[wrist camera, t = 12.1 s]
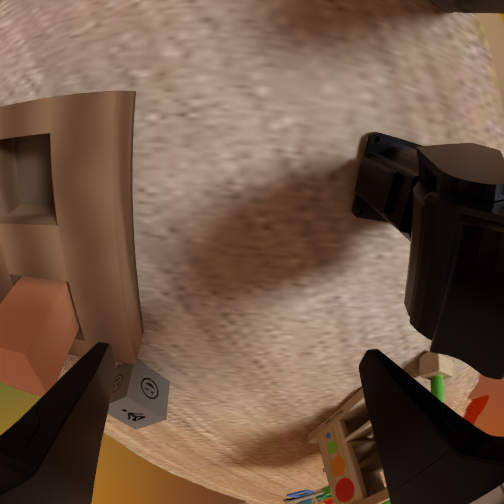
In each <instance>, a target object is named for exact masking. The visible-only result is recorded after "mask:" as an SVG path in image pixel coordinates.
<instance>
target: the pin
mask: <svg viewBox="0 0 504 504" xmlns="http://www.w3.org/2000/svg"><path fill="white" fill-rule="evenodd" d="M79 327H80V323H79V320H78V316H77V313H76V309H75V305H74V302H73V298H72V294H71V290H70V286H69V282H67V281H58V280H50V279H42V278H35V277H27V276H22V277H21V278H20V279H19V280H18V282H17V283H16V284H15V285H14V287H13V288H12V289H11V290H10V292H9V293H8V294H7V296H6V297H5V298H4V300H3V301H2V302H1V304H0V380H1V382H2V383H3V384H5V385H9V386H11V387H14V388H17V389H20V390H23V391H26V392H29V393H32V394H35V395H39V396H43V395H44V394H45V393H46V392H47V391H48V390H49V389H50V388H51V387H52V386H53V385H54V384H55V383H56V382H57V379H58V377H59V374H60V372H61V369H62V367H63V364H64V362H65V359H66V357H67V355H68V352H69V350H70V348H71V345H72V343H73V341H74V339H75V336H76V334H77V332H78V330H79Z"/></svg>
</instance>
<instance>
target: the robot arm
mask: <svg viewBox="0 0 504 504" xmlns="http://www.w3.org/2000/svg"><path fill="white" fill-rule="evenodd" d="M375 136H377V141H376V142H375V141H374V137H375ZM355 192H356V195H355V199H354V203H353V207H352V213H353V214H354V215H355V216H356V217H357V218H363V219H371V220H378V221H386V222H390V223H391V224H392V225H393V226H394V227H395V228H396V229H397V230H399V231H400V232H401V233H402V234H403V235H404V236H405V237H406V238H407V239H408V240H409V241H410V242H411V244H410V255H409V265H408V274H407V282H406V290H405V302H404V304H405V306H406V309H407V312H408V315H409V316H410V324H411V325H412V326H413V327H414V328H415V329H416V330H417V331H418V332H419V333H421V334H422V335H424V336H425V337H426V338H428V339H430V340H432V343H431V346H430V352H432V353H437V354H444V355H449V356H451V357H454V358H457V359H459V360H462V361H463V362H465V363H467V364H468V365H470V366H471V367H472V368H474V369H475V370H477V371H478V372H479V373H481V374H482V375H484V376H485V377H489V378H494V379H502V378H503V377H504V158H503V156H502V154H501V151H499V150H496V149H493V148H489V147H486V146H482V145H478V144H474V143H460V144H444V145H431V146H421V145H418V144H415V143H412V142H409V141H406V140H403V139H399V138H396V137H392V136H389V135H385V134H382V133H378V132H372V133H370V134H369V137H368V142H367V146H366V151H365V156H364V157H363V158H362V160H361V165H360V169H359V174H358V178H357V182H356V187H355ZM360 208H361V211H360V212H359V213H357V210H358V209H360ZM114 366H115V359H114V355H113V352H112V348H111V345H110V344H109V343H106V342H98V343H96V344H95V345H94V346H93V347H92V348H91V349H90V350H89V351H88V352H87V353H86V354H85V355H84V356H83V357H82V358H81V359H80V360H79V361H78V362H77V363H76V364H75V365H73V366H72V367H71V368H70V369H69V370H68V371H67V372H66V373H65V374H64V375H63V376H62V377H61V378H60V379H59V380H58V381H57V382H56V383H55V384H54V385H53V386H52V387H51V388H50V389H49V390H48V391H47V392H46V393H45V394H44V395H43V396H42V397H41V398H40V399H39V400H38V402H36V404H34V405H33V406H32V407H31V409H30V410H29V411H28V412H27V413H25V415H23V416H22V417H21V418H20V420H18V421H17V422H16V423H15V424H14V425H12V426H11V427H10V428H9V429H8V430H6V431H5V432H4V433H3V434H2V435H0V504H91V502H92V494H93V488H94V481H95V475H96V468H97V463H98V457H99V452H100V446H101V441H102V436H103V432H104V427H105V422H106V418H107V413H108V409H109V404H110V397H111V389H112V381H113V374H114ZM359 372H360V378H361V383H362V389H363V394H364V400H365V404H366V408H367V412H368V415H369V419H370V422H371V426H372V430H373V433H374V437H375V441H376V444H377V448H378V452H379V456H380V460H381V464H382V468H383V472H384V476H385V480H386V485H387V489H388V492H389V493H388V494H389V498H390V503H391V504H504V437H498V436H497V437H496V436H491V435H489V434H486V433H485V432H483V431H482V430H480V429H478V428H477V427H476V426H474V425H473V424H471V423H470V422H468V421H467V420H465V419H464V418H463V417H461V416H460V415H458V414H457V413H456V412H454V411H453V410H452V409H451V408H449V407H448V406H447V405H446V404H444V403H443V402H441V400H439V399H438V398H437V397H436V396H435V395H433V394H432V393H431V392H430V391H428V390H427V389H426V388H425V387H424V386H422V385H421V384H420V383H419V382H417V381H416V380H415V379H414V378H413V377H411V376H410V375H409V374H408V373H407V372H405V371H404V370H403V369H402V368H400V367H399V366H398V365H397V364H396V363H394V362H393V361H392V360H391V359H389V358H388V357H387V356H386V355H385V354H383V353H382V352H381V351H380V350H378V349H370V350H367V351H366V353H365V355H364V357H363V358H362V360H361V362H360V364H359Z"/></svg>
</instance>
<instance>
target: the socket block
mask: <svg viewBox="0 0 504 504" xmlns="http://www.w3.org/2000/svg"><path fill="white" fill-rule="evenodd" d="M135 97H136V91H104V92H92V93H81V94H72V95H64V96H57V97H50V98H44V99H38V100H32V101H27V102H22V103H17V104H12V105H8V106H3V107H0V304H1V302H2V301H3V300H4V298H5V297H6V296H7V294H8V293H9V292H10V290H11V289H12V288H13V287H14V285H15V284H16V283H17V282H18V280H19V279H20V278H21V277H22V276H27V277H35V278H42V279H50V280H58V281H67V282H69V286H70V290H71V294H72V298H73V302H74V305H75V309H76V313H77V316H78V320H79V323H80V327H79V330H78V332H77V334H76V336H75V339H74V341H73V343H72V345H71V348H70V350H69V352H68V354H72V355H77V356H84V355H85V354H86V353H87V352H88V351H89V350H90V349H91V348H92V347H93V346H94V345H95V344H96V343H98V342H106V343H109V344H110V345H111V348H112V352H113V355H114V359H115V362H121V363H129V364H136V361H137V357H138V352H139V348H140V344H141V340H142V336H143V332H144V331H143V324H142V316H141V309H140V300H139V291H138V282H137V271H136V259H135V245H134V227H133V198H132V156H133V127H134V110H135Z"/></svg>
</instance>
